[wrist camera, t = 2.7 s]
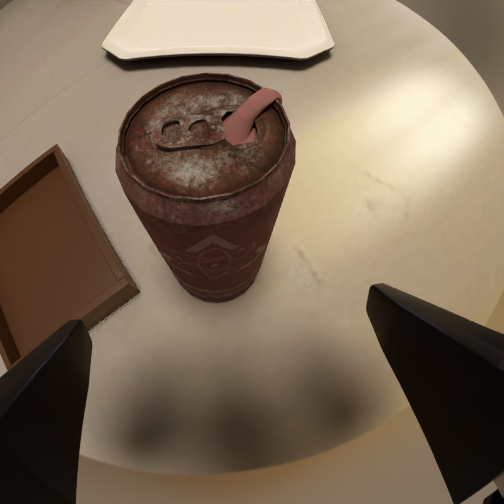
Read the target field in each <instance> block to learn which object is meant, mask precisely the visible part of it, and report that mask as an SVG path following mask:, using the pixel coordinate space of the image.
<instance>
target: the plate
mask: <svg viewBox="0 0 504 504" xmlns="http://www.w3.org/2000/svg"><path fill="white" fill-rule="evenodd" d="M333 47H334V41H333V39H332V37H331V34H330V32H329V30H328V27H327V25H326V23H325V21H324V18H323V16H322V14H321V12H320V10H319V7H318V5H317V3H316V1H315V0H134V1H133V2H132V3H131V4H130V6H129V7H128V8H127V9H126V11H125V12H124V13H123V15H122V16H121V17H120V19H119V20H118V21H117V23H116V24H115V26H114V27H113V28H112V30H111V31H110V33H109V34H108V36H107V37H106V39H105V40H104V42H103V43H102V48H103V49H104V50H106V51H107V52H109V53H110V54H112V55H113V56H115V57H117V58H118V59H120V60H122V61H132V60H141V59H151V58H162V57H177V56H205V55H225V56H254V57H269V58H280V59H290V60H299V61H301V60H308V59H310V58H312V57H315V56H317V55H319V54H321V53H324V52H326V51H328V50H331V49H333Z"/></svg>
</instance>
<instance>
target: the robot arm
mask: <svg viewBox="0 0 504 504" xmlns="http://www.w3.org/2000/svg"><path fill="white" fill-rule="evenodd" d="M366 311H367V314H368V317H369V319H370V321H371V324H372V326H373V329H374V331H375V334H376V336H377V339H378V341H379V344H380V346H381V348H382V350H383V352H384V354H385V356H386V358H387V360H388V362H389V364H390V366H391V368H392V370H393V372H394V374H395V376H396V378H397V379H398V381H399V383H400V385H401V387H402V389H403V391H404V393H405V395H406V397H407V399H408V401H409V403H410V405H411V407H412V410H413V412H414V414H415V416H416V418H417V420H418V422H419V424H420V426H421V428H422V431H423V433H424V435H425V437H426V439H427V441H428V444H429V446H430V448H431V450H432V453H433V454H434V457H435V460H436V462H437V464H438V467H439V469H440V471H441V474H442V476H443V479H444V481H445V483H446V486H447V488H448V491H449V493H450V496H451V498H452V501H453V503H454V504H460V503H461V502H463V501H465V500H466V499H468V498H469V497H471V496H472V495H474V494H475V493H476V492H478V491H479V490H481V489H482V488H483V487H485V486H486V485H488V484H489V483H490V482H491V481H494V482H495V484H496V486H497V488H498V489H497V490H496V491H494V492H493V493H492V494H490V495H489V496H488V497H486V498H485V499H484V501H483V504H504V334H502V333H499V332H497V331H494V330H491V329H489V328H487V327H484V326H482V325H480V324H477V323H475V322H473V321H470V320H468V319H466V318H464V317H461V316H459V315H457V314H454V313H452V312H450V311H447V310H445V309H443V308H440V307H438V306H436V305H433V304H431V303H429V302H426V301H424V300H422V299H419V298H417V297H415V296H412V295H410V294H408V293H405V292H403V291H400V290H398V289H396V288H393V287H391V286H388V285H386V284H384V283H379V284H374V285H372V286H371V287H370V289H369V294H368V300H367V305H366ZM91 354H92V340H91V338H90V335H89V333H88V331H87V329H86V326H85V324H84V322H83V321H82V320H81V319H76V320H69V321H68V322H67V323H65V324H64V325H63V326H62V327H60V328H59V329H58V330H57V331H55V332H54V333H53V334H52V335H50V336H49V337H48V338H47V339H45V340H44V341H43V342H42V343H41V344H39V345H38V346H37V347H36V348H34V349H33V350H32V351H31V352H30V353H28V354H27V355H26V356H25V357H24V358H22V359H21V360H20V361H19V362H18V363H17V364H15V365H14V366H13V367H12V368H11V369H10V370H8V371H7V372H6V373H5V374H4V375H3V376H1V377H0V504H76V487H77V472H78V460H79V450H80V441H81V433H82V426H83V419H84V412H85V406H86V400H87V394H88V387H89V376H90V364H91Z"/></svg>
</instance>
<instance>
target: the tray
mask: <svg viewBox="0 0 504 504" xmlns="http://www.w3.org/2000/svg"><path fill="white" fill-rule="evenodd" d="M139 292H140V291H139V289H138V288H137V286H136V285H135V283H134V281H133V280H132V278H131V277H130V275H129V273H128V272H127V270H126V269H125V267H124V265H123V264H122V262H121V260H120V259H119V257H118V255H117V253H116V252H115V250H114V248H113V247H112V245H111V243H110V241H109V240H108V238H107V236H106V234H105V232H104V231H103V229H102V227H101V225H100V223H99V222H98V220H97V218H96V216H95V214H94V212H93V210H92V208H91V206H90V205H89V203H88V201H87V199H86V197H85V195H84V193H83V191H82V189H81V187H80V185H79V183H78V181H77V179H76V176H75V174H74V172H73V170H72V168H71V166H70V164H69V161H68V159H67V158H66V157H65V155H64V153H63V152H62V150H61V149H60V147H59V146H58V144H56V145H55V146H53V147H52V148H50V149H49V150H48V151H46V152H45V153H44V154H42V155H41V156H40V157H39V158H37V159H36V160H35V161H33V162H32V163H31V164H30V165H28V166H27V167H26V168H25V169H23V170H22V171H21V172H20V173H19V174H17V175H16V176H15V177H14V178H13V179H12V180H10V181H9V182H8V183H7V184H6V185H5V186H4V187H2V188H1V189H0V354H1V356H2V359H3V361H4V363H5V366H6V368H7V370H10V369H11V368H12V367H13V366H14V365H15V364H17V363H18V362H19V361H20V360H21V359H22V358H24V357H25V356H26V355H27V354H28V353H30V352H31V351H32V350H33V349H34V348H36V347H37V346H38V345H39V344H41V343H42V342H43V341H44V340H45V339H47V338H48V337H49V336H50V335H52V334H53V333H54V332H55V331H57V330H58V329H59V328H60V327H62V326H63V325H64V324H65V323H67V322H68V321H69V320H76V319H81V320H82V321H83V322H84V324H85V326H86V329H87V331H88V330H89V329H90V328H92V327H93V326H94V325H95V324H97V323H98V322H100V321H101V320H102V319H104V318H105V317H106V316H108V315H109V314H110V313H112V312H113V311H114V310H116V309H117V308H118V307H120V306H121V305H122V304H124V303H125V302H127V301H128V300H129V299H131V298H132V297H133V296H135V295H136V294H137V293H139Z"/></svg>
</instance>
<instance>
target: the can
mask: <svg viewBox="0 0 504 504" xmlns="http://www.w3.org/2000/svg"><path fill="white" fill-rule="evenodd" d="M295 147H296V141H295V138H294V136H293V133H292V131H291V128H290V122H289V120H288V118H287V115H286V113H285V110H284V108H283V106H282V98H281V95H280V94H279V92H277V91H275V90H272V89H268V88H263V87H261V86H259V85H258V84H256V83H254V82H252V81H250V80H247V79H244V78H241V77H237V76H233V75H230V74H219V73H200V74H193V75H187V76H181V77H179V78H176V79H173V80H170V81H168V82H165V83H163V84H160V85H158V86H157V87H155V88H154V89H152V90H151V91H149V92H148V93H146V94H145V95H143V96H142V97H141V98H140V99H139V100H138V101H137V102H136V103H135V104H134V105H133V107H132V108H131V109H130V110H129V111H128V112H127V114H126V116H125V118H124V120H123V123H122V125H121V127H120V129H119V134H118V144H117V148H116V173H117V176H118V178H119V181H120V183H121V186H122V188H123V191H124V193H125V195H126V196H127V198H128V200H129V202H130V203H131V205H132V207H133V209H134V210H135V212H136V214H137V215H138V217H139V219H140V220H141V222H142V224H143V225H144V227H145V229H146V230H147V232H148V234H149V235H150V237H151V239H152V240H153V242H154V244H155V245H156V247H157V248H158V250H159V252H160V253H161V255H162V256H163V258H164V260H165V261H166V263H167V264H168V266H169V268H170V269H171V271H172V272H173V274H174V275H175V277H176V278H177V280H178V281H179V283H180V284H181V286H182V287H183V288H184V289H186V290H187V291H188V292H189V293H190V294H191V295H193V296H195V297H197V298H199V299H201V300H204V301H212V302H221V301H226V300H231V299H234V298H235V297H237V296H239V295H241V294H242V293H244V292H245V291H246V290H247V289H248V288H249V287H250V286H251V285H252V284H253V282H254V280H255V278H256V276H257V274H258V271H259V269H260V266H261V263H262V260H263V257H264V254H265V251H266V248H267V246H268V243H269V240H270V237H271V234H272V231H273V228H274V225H275V222H276V219H277V216H278V213H279V210H280V207H281V204H282V201H283V198H284V195H285V192H286V189H287V186H288V183H289V180H290V177H291V174H292V171H293V168H294V165H295Z"/></svg>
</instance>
